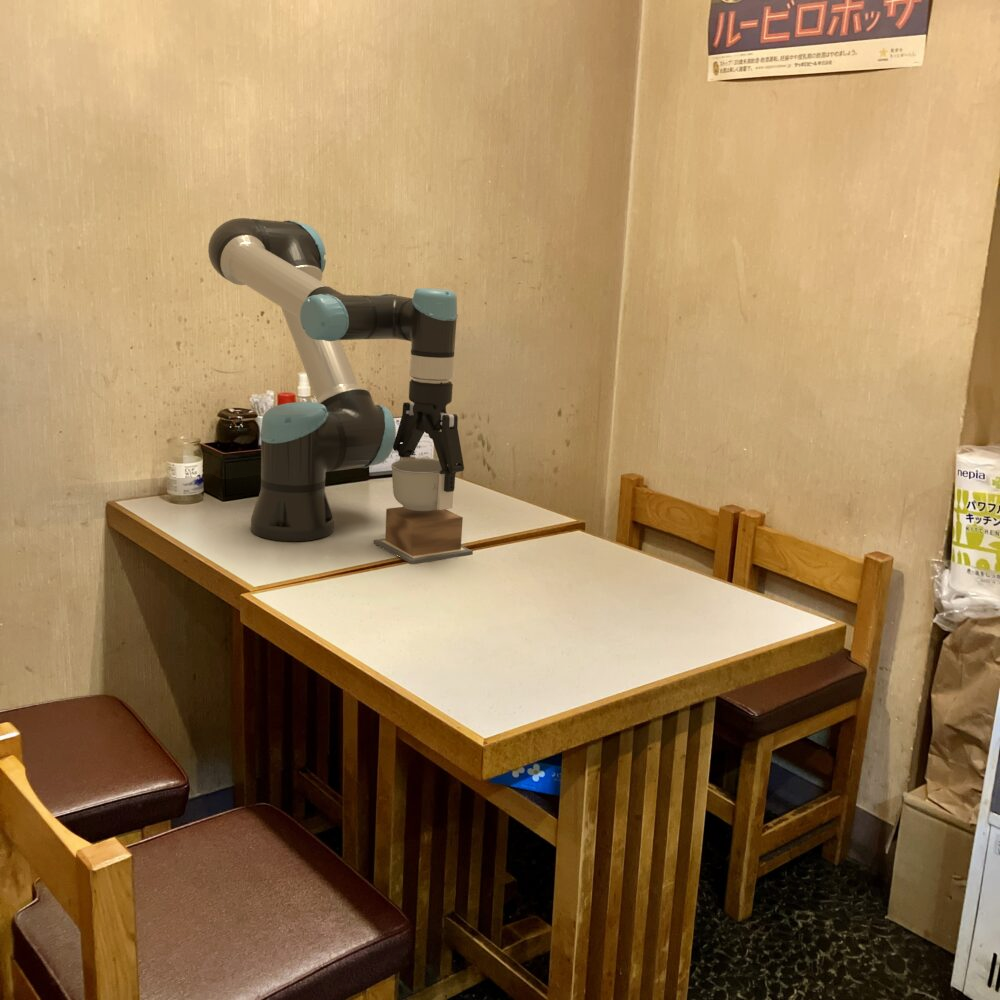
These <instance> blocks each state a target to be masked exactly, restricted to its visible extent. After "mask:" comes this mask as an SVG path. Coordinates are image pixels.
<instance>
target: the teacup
mask: <svg viewBox="0 0 1000 1000" xmlns="http://www.w3.org/2000/svg"><path fill="white" fill-rule="evenodd" d="M390 466H391V474H392V475H391V477H392V478H391V479H392V480H391V482H392V493H393V496H394V498H395V500H396V501H397V503H399V504H400V505H402V507H405V508H406V509H409V510H415V511H430V510H435V509H437V502H438V484H439V472H440V471H441V470H442V468H441V465H440V462H439V459H438V458H431V457H430V456H429V457H428V456H422V457H417V458H416V457H415V458H412V459H404V460H400V459H399V460H397V461H395V462H393V463H392V464H391V465H390ZM447 466H448V464H447Z"/></svg>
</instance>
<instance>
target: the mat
mask: <svg viewBox="0 0 1000 1000" xmlns="http://www.w3.org/2000/svg"><path fill="white" fill-rule="evenodd" d="M372 542H373V543H374V545H375V544H376V545H375V546H377V545H378V546H377V547H379V546H380V547H379V548H381V549H383V548H384V549H383V550H385V551H386V550H387V551H386V552H388V551H389V552H388V553H391V554H392V553H393V555H394V554H395V555H394V556H396V555H398V556H400V557H401V558H402V559H401V558H400V559H401V560H403V561H404V562H405V561H406V562H407V563H409V564H411V565H414V564H421V563H426V562H427V563H428V562H432V561H438V560H446V559H449V558H450V559H451V558H457V557H464V556H468V555H473V553H474V552H473V550H471V549H469V548H467V547H466V546H463V544H461V549H460V550H453V551H446V552H439V553H432V554H424V555H417V556H411V555H410V554H408V553H406V552H405V551H403V550H401V549H399V548H398V547H396V546H394V545H392V544H391V543H389V542H387V541H386V540H385V538H381V539H380V538H379V539H374V540H373V541H372ZM398 556H397V557H398Z"/></svg>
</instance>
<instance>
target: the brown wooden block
mask: <svg viewBox="0 0 1000 1000" xmlns="http://www.w3.org/2000/svg"><path fill="white" fill-rule="evenodd" d="M385 513H386V514H385V536H384V537H385V538H384V539H385V540H386V541H387V542H389V543H391V544H392V545H394V546H396V547H398V548H399V549H401V550H403V551H405V552H406V553H408V554H410V555H411V556H417V555H424V554H432V553H439V552H446V551H453V550H460V549H461V545H462V538H463V537H462V535H463V534H462V533H463V532H462V531H463V522H464V521H463V516H460V515H459V514H457V513H454V512H452V511H450V510H449V509H444V510H438V509H435V510H430V511H415V510H409V509H406V508H405V507H403V506H399V507H388V508H386V511H385Z"/></svg>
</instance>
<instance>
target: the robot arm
mask: <svg viewBox="0 0 1000 1000" xmlns="http://www.w3.org/2000/svg"><path fill="white" fill-rule="evenodd" d="M207 249H208V251H207V252H208V258H209V262H210V264H211V265H212V267H213V269H214V270H215V271H216V272H217V273H218V275H220V276H221V277H222V278H224V279H225V280H227V281H229V282H231V283H232V284H233V285H239V286H247V287H249V288H250V289H252V290H253V291H255V292H256V293H258V294H260V295H261V296H262V297H264V298H266V299H268V300H269V301H271V302H272V303H274V304H276V305H277V306H279V307H280V308H281V311H282V313H283V316H284V319H285V321H286V324H287V327H288V330H289V331H290V335H291V337H292V340H293V342H294V345H295V347H296V350H297V352H298V356H299V358H300V360H301V363H302V365H303V369H304V370H305V373H306V376H307V379H308V381H309V384H310V386H311V389H312V391H313V395H314V397H315V399H316V402H313V401H302V402H296V401H295V402H287V403H282V404H279V405H276V406H273V407H271V408H269V409H267V410H266V412H265V413H264V414H263V416H262V418H261V419H262V420H261V427H260V434H259V436H260V441H261V442H260V459H261V460H260V491H259V494H258V496H257V498H256V499H257V500H256V502H255V506H254V508H253V511H252V514H251V517H250V531H251V533H253V534H254V535H255V536H258V537H259V538H260V537H261V538H264V539H267V540H273V541H281V542H306V541H313V540H314V541H315V540H318V539H323V538H325V537H328V536H330V535H331V534H332V533H333V532H334V523H335V521H334V516H333V513H332V509H331V506H330V503H329V499H328V496H327V493H326V473H327V472H336V471H337V472H338V471H344V470H351V469H366V468H369V467H371V466H376V465H380V464H382V463H383V462H385V461H386V460H387V459H389V457H390V455H391V453H392V452H393V451H395V452H397V455H398V456H399V460H404V459H412V458H416V452H415V451H416V448H417V446H418V445H419V443H420V441H421V439H422V438H423V435H424V434H427V435H428V437H429V438H430V439H431V440H432V443H433V446H434V449H435V453H436V455H437V459H439V462H440V465H441V468H442V470H441V471H440V472H439V484H438V502H437V509H438V510H444V509H446V510H449V509H450V510H451V509H453V504H454V503H453V502H454V492H455V488H456V487H455V486H456V485H455V484H456V474H457V473H459V472H464V470H465V464H464V459H463V453H462V448H461V441H460V437H459V436H460V435H459V430H458V420H459V419H458V418H459V417H458V415H457V414H456V413H454V414H450V413H449V414H448V412H447V405H449V404H451V403H452V400H453V388H454V387H453V383H452V381H451V380H453V377H454V361H455V358H454V357H455V348H456V347H455V346H456V334H457V333H456V332H457V331H456V330H457V321H458V320H457V319H458V307H457V306H458V305H457V304H458V298H457V295H456V293H455V292H454V291H453V290H450V289H441V288H440V289H439V288H428V287H427V288H426V287H418V288H416V289H415V290H414V291H413V297H407V296H402V295H397V294H394V293H391V294H390V293H389V294H388V293H383V294H382V293H380V294H378V293H377V294H375V295H364V294H363V295H361V294H360V295H357V294H355V295H354V294H343V293H341V292H340V291H338V290H336V289H334V288H332V287H331V286H330V285H327V284H326V283H324V282H322V279H323V274H324V271H325V269H326V263H327V260H326V258H325V255H326V248H325V245H324V242H323V240H322V238H321V236H320V234H319V233H318V232H317V230H315V229H314V228H313V227H312V226H311V225H309V224H307V223H303V222H297V221H295V220H294V221H293V220H283V221H281V220H268V219H257V218H247V217H245V218H244V217H239V218H233V219H229V220H227V221H225V222H223V223H222V224H220V225H219V226H218V227H217V228H216V229H215V230H214V231H213V233H212V234H211V237H210V239H209V242H208V248H207ZM351 340H353V341H354V340H399V341H402V340H403V341H408V342H411V348H410V358H409V359H410V360H409V361H410V362H409V376H410V377H411V379H410V381H409V382H408V383H409V385H408V386H409V388H408V400H409V402H403V403H402V415H401V418H400V421H399V425H398V428H397V429H396V423H395V419H394V416H393V414H392V412H391V411H390V409H388V407H385V406H384V405H382V404H375V403H374V400H373V397H372V396H371V393H370V391H369V390H368V389H367V388H364V387H361V386H359V383H358V381H357V379H356V376H355V373H354V371H353V368H352V366H351V363H350V361H349V358H348V356H347V353H346V351H345V350H346V349H345V348H344V346H343V343H342V342H341V341H351ZM447 464H448V466H447Z"/></svg>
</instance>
